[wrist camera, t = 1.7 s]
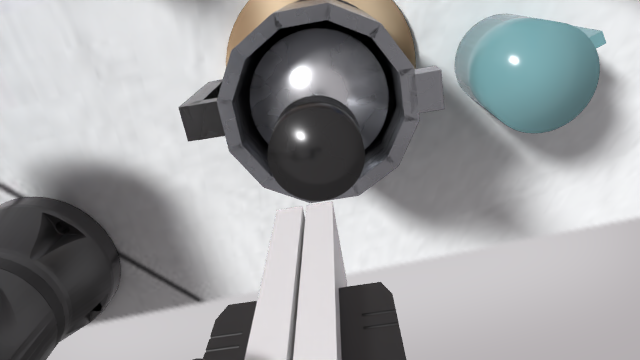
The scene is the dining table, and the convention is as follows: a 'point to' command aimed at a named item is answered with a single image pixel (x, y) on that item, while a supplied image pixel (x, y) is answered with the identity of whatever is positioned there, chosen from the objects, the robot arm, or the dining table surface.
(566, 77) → the mug
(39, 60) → the dining table surface
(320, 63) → the plunger
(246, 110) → the carafe
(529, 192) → the dining table surface
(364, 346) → the robot arm
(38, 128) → the dining table surface
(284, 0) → the trivet
